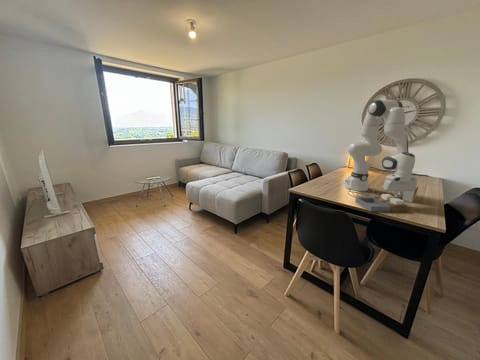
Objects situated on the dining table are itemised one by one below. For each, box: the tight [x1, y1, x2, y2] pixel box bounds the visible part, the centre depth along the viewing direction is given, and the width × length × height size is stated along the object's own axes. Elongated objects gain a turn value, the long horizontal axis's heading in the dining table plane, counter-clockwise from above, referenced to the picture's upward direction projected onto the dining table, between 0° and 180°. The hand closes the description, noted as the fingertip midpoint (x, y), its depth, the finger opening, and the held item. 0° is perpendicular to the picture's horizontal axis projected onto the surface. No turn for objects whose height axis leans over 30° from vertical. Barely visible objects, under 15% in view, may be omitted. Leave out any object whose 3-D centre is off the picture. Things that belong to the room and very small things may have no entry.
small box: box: [401, 186, 419, 203], centre depth 142 cm, size 8×6×10 cm
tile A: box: [380, 193, 395, 200], centre depth 133 cm, size 5×5×2 cm
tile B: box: [390, 197, 405, 205], centre depth 126 cm, size 5×5×2 cm
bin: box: [354, 196, 391, 213], centre depth 130 cm, size 16×12×4 cm
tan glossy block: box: [374, 196, 409, 213], centre depth 130 cm, size 16×10×4 cm, turn 1°
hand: (397, 197), depth 134 cm, fingers closed
